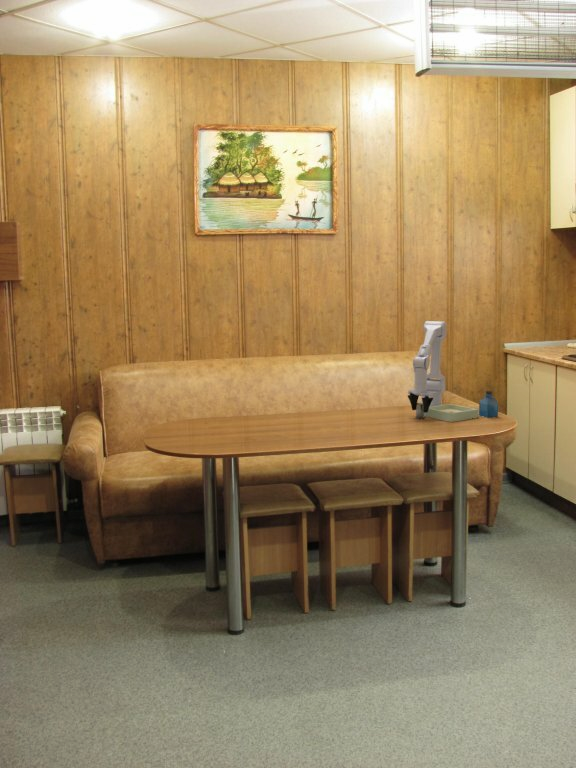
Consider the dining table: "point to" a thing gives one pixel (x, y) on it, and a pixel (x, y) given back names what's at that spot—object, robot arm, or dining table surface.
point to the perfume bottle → (488, 406)
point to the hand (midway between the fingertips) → (420, 411)
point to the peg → (419, 411)
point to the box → (451, 412)
